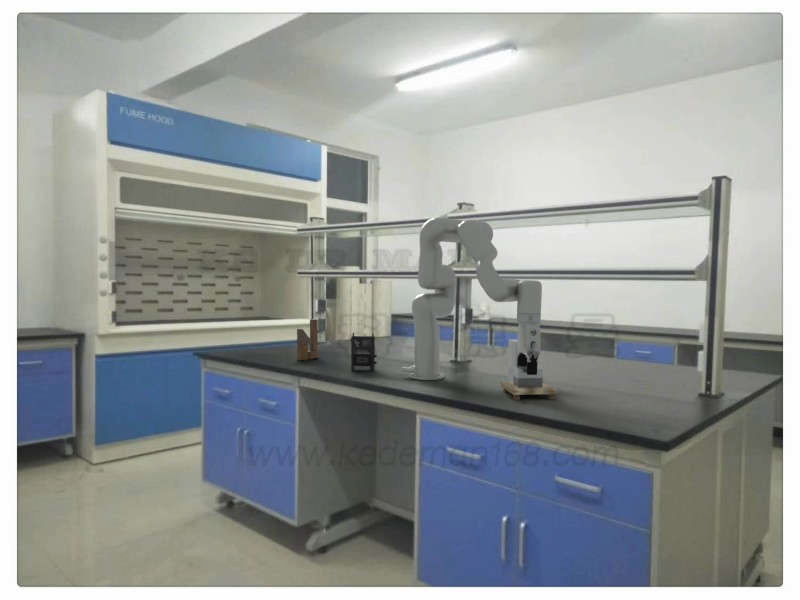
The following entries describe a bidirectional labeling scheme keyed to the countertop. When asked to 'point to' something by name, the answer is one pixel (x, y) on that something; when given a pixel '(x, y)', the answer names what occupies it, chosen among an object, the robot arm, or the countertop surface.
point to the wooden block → (308, 342)
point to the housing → (526, 377)
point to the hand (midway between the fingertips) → (526, 371)
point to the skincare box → (512, 358)
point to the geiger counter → (363, 353)
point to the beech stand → (528, 390)
